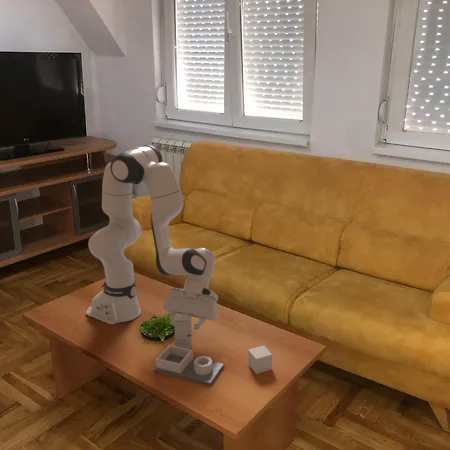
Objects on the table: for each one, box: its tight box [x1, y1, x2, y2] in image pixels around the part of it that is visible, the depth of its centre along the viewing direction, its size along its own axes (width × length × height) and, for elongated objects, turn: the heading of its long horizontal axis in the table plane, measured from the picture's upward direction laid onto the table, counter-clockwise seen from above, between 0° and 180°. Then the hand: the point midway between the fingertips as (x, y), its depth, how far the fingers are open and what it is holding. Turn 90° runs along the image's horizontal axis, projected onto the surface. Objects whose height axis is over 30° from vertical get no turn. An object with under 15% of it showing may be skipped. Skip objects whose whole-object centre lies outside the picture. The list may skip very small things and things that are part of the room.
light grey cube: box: [247, 345, 273, 375], centre depth 173 cm, size 6×6×6 cm
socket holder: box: [153, 344, 225, 387], centre depth 173 cm, size 21×11×4 cm, turn 67°
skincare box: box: [174, 313, 193, 350], centre depth 185 cm, size 6×4×12 cm
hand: (184, 327), depth 185 cm, fingers open, 8 cm apart
